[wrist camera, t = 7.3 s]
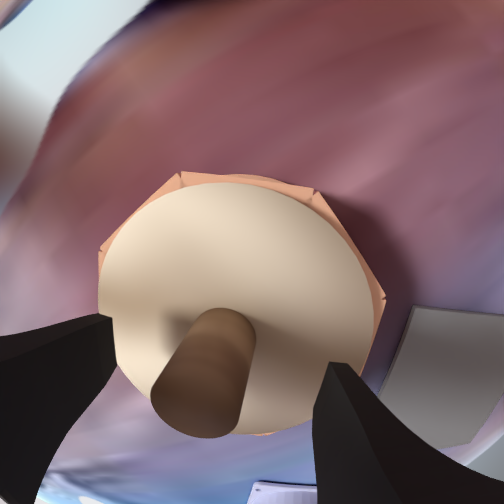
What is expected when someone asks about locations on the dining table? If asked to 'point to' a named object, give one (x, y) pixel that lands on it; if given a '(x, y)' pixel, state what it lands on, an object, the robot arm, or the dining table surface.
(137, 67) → the dining table surface
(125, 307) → the lid
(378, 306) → the octagonal bowl
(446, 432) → the mat
